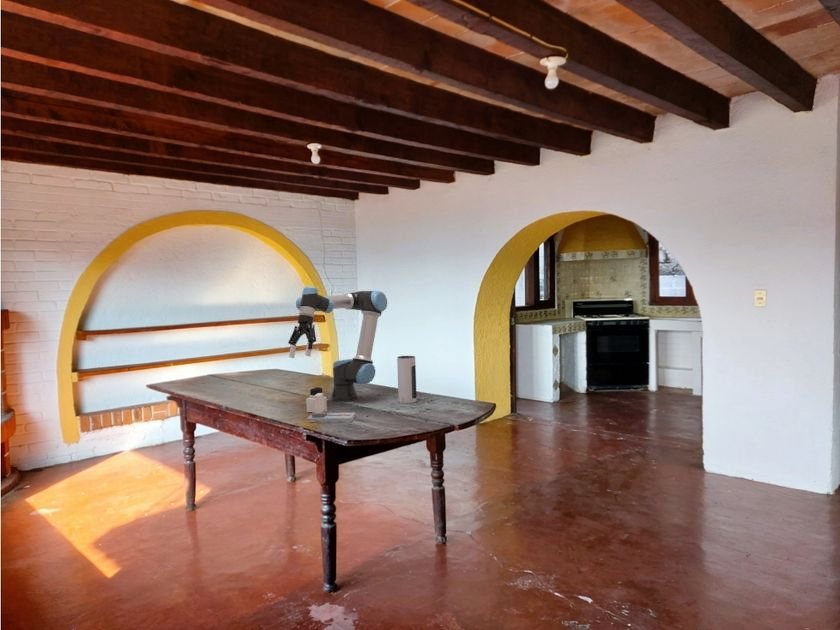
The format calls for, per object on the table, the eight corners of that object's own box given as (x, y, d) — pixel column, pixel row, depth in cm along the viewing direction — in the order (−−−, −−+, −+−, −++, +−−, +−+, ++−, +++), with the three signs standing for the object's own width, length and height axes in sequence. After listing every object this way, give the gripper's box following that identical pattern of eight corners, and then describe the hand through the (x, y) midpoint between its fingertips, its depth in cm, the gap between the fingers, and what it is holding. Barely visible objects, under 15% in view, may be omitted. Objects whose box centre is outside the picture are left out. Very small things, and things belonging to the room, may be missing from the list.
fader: (315, 413, 300) (315, 392, 300) (327, 413, 300) (326, 392, 299) (311, 416, 292) (311, 396, 292) (323, 416, 292) (322, 395, 291)
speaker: (409, 404, 325) (408, 357, 324) (394, 402, 331) (393, 356, 329) (420, 401, 334) (419, 355, 332) (405, 399, 340) (404, 354, 338)
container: (327, 411, 315) (326, 386, 314) (317, 414, 308) (316, 389, 307) (316, 409, 319) (315, 385, 318) (306, 412, 312) (305, 388, 311)
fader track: (313, 416, 302) (313, 412, 302) (355, 416, 301) (355, 412, 301) (306, 422, 291) (306, 418, 290) (350, 422, 289) (350, 418, 289)
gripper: (285, 316, 308) (278, 356, 302) (315, 311, 291) (308, 353, 285) (297, 320, 313) (290, 359, 307) (327, 315, 296) (320, 356, 290)
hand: (299, 356), depth 296 cm, fingers open, 13 cm apart
